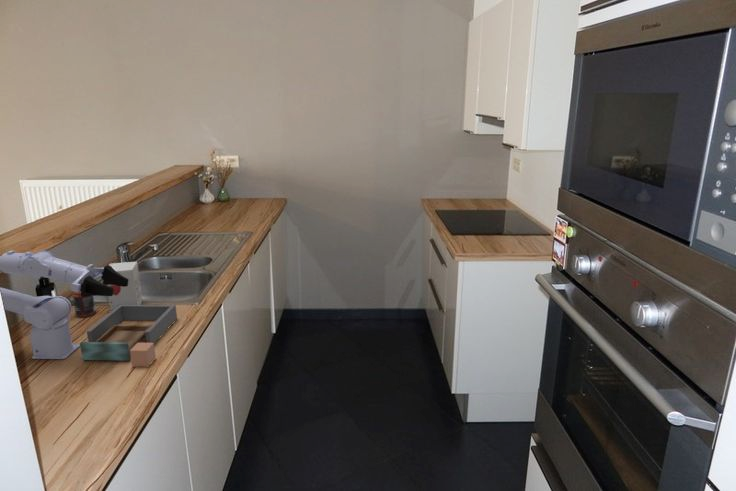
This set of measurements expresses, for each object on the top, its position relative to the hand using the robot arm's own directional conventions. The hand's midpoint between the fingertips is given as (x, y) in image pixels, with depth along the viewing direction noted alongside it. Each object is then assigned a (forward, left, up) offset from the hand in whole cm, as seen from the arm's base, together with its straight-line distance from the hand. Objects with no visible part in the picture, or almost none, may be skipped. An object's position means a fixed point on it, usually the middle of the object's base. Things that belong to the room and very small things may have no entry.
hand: (120, 287), depth 142 cm
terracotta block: (+6, -4, -20) cm, 22 cm away
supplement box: (-17, +33, -21) cm, 42 cm away
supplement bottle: (-28, +27, -21) cm, 44 cm away
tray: (-5, +5, -20) cm, 22 cm away
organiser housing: (-5, +14, -20) cm, 25 cm away
